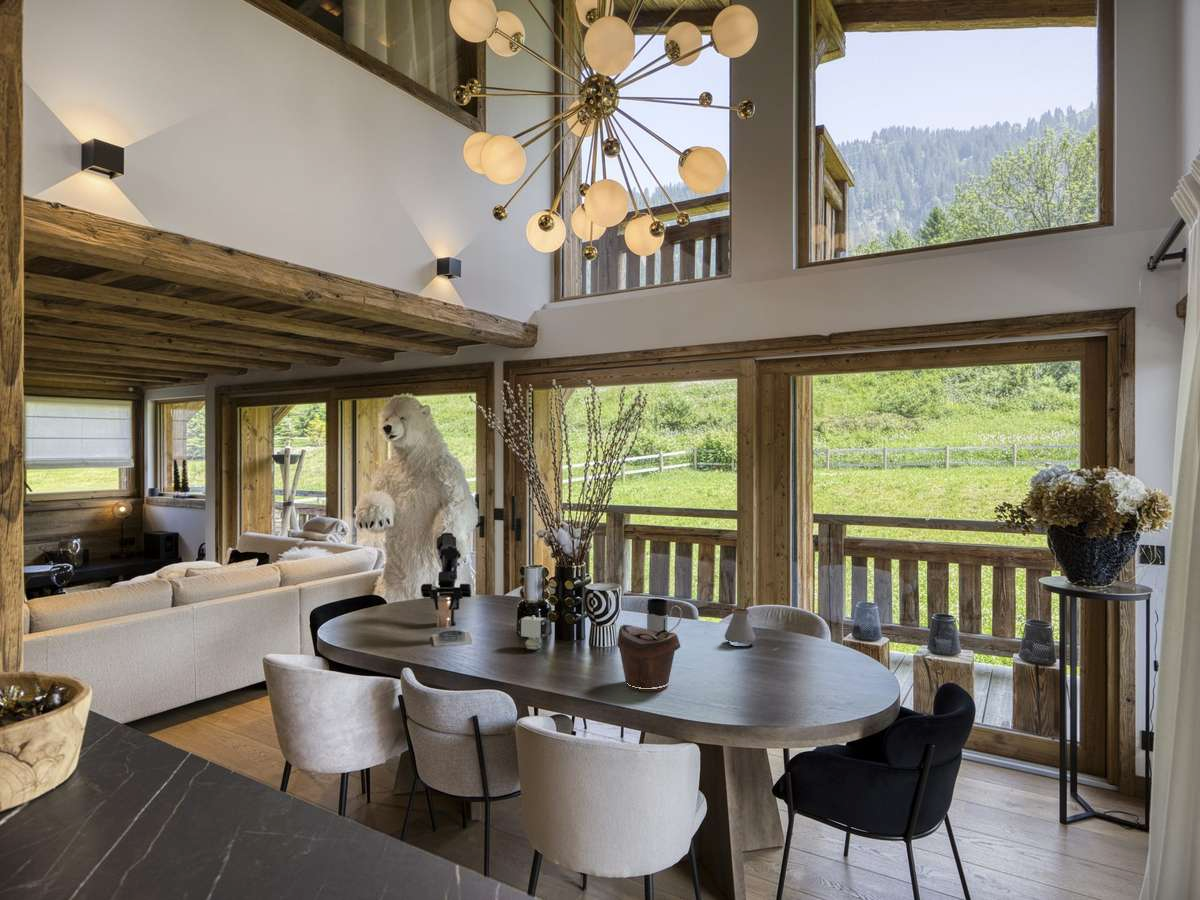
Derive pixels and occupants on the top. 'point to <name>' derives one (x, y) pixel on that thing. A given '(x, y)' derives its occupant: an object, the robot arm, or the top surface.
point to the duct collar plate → (451, 638)
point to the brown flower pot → (646, 656)
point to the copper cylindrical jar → (443, 611)
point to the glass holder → (658, 615)
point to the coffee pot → (740, 626)
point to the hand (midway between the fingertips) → (443, 609)
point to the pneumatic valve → (533, 630)
